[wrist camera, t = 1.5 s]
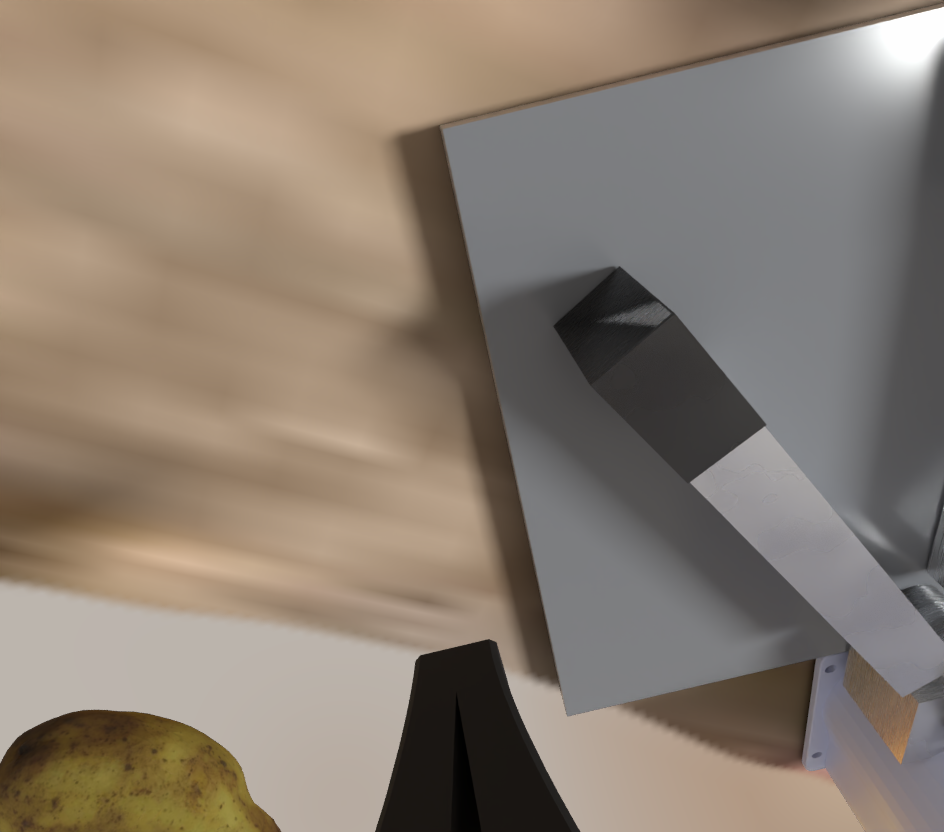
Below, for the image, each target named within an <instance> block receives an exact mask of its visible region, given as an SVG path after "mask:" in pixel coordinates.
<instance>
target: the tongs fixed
mask: <svg viewBox="0 0 944 832" xmlns="http://www.w3.org/2000/svg"><path fill="white" fill-rule="evenodd" d="M926 572H927V573H928V574H929V575H930V576H931V577H932V578H933V579H934V580H935V581H937V582H938V583H939V584H940V585H941V586H942V587H943V588H944V505H943V508H942V512H941V516H940V520H939V524H938V528H937V532H936V536H935V540H934V544H933V547H932V551H931V555H930V559H929V563H928V567H927V571H926ZM902 593H903V594H904V595H905V596H906V597H907V599H908V600H909V601H910V602H911V603H912V605H913V606H914V607H915V608H916V610H917V611H918V612H919V613H920V614H921V616H922V617H923V618H924V619H925V620H926V622H927V623H928V624H929V625H930V626H931V628H932V629H933V630H934V631H935V632H936V634H937V635H938V636H939V637H940V639H941V640H942V641H943V642H944V594H943V593H942V592H941V591H939V590H938V589H937V588H936V587H935V586H932V585H927V584H922V585H916V586H912V587H909V588H907V589H905V590H903V591H902ZM843 686H844V688H845V689H846V690H847V692H848V693H849V695H850V696H851V697H852V699H853V700H854V701H855V703H856V704H857V705H858V707H859V708H860V710H861V711H862V712H863V714H864V715H865V716H866V718H867V719H868V721H869V722H870V723H871V725H872V726H873V727H874V729H875V730H876V731H877V733H878V734H879V736H880V737H881V738H882V740H883V741H884V742H885V744H886V745H887V746H888V748H889V749H890V751H891V752H892V753H893V755H894V756H895V757H896V759H897V760H898V762H899V763H900V764H901V765H902V764H906V763H911V762H915V761H919V760H924V759H928V758H931V757H933V756H934V755H936V754H938V753H940V752H942V751H944V675H942V676H940V677H938V678H937V679H935V680H933V681H931V682H930V683H928V684H926V685H924V686H922V687H921V688H919V689H917V690H915V691H913V692H912V693H910V694H908V695H906V696H904V697H903V698H902V697H901V696H900V695H899V693H898V692H897V691H896V690H895V689H894V688H893V687H892V686H891V685H890V684H889V683H888V682H887V681H886V680H885V679H884V678H883V677H882V676H881V675H880V674H879V673H878V672H877V671H876V670H875V669H874V668H873V667H872V666H871V665H870V664H869V663H868V662H867V661H866V660H865V659H864V658H863V657H862V656H861V655H860V654H859V653H858V652H857V651H856V650H855V649H854V648H853V647H852V646H851V645H850V647H849V653H848V658H847V664H846V669H845V675H844V680H843Z"/></svg>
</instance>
